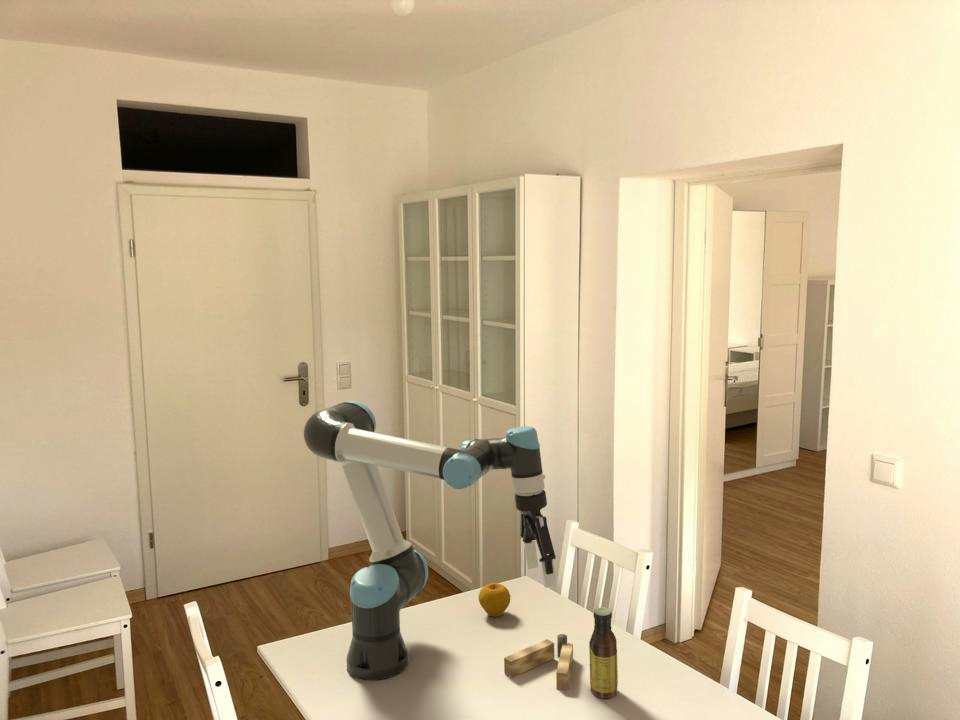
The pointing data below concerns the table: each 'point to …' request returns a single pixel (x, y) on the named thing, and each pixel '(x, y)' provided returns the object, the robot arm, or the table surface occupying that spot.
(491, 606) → the apple
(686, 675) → the table surface
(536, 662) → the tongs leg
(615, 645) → the sauce bottle
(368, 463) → the robot arm
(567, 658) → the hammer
